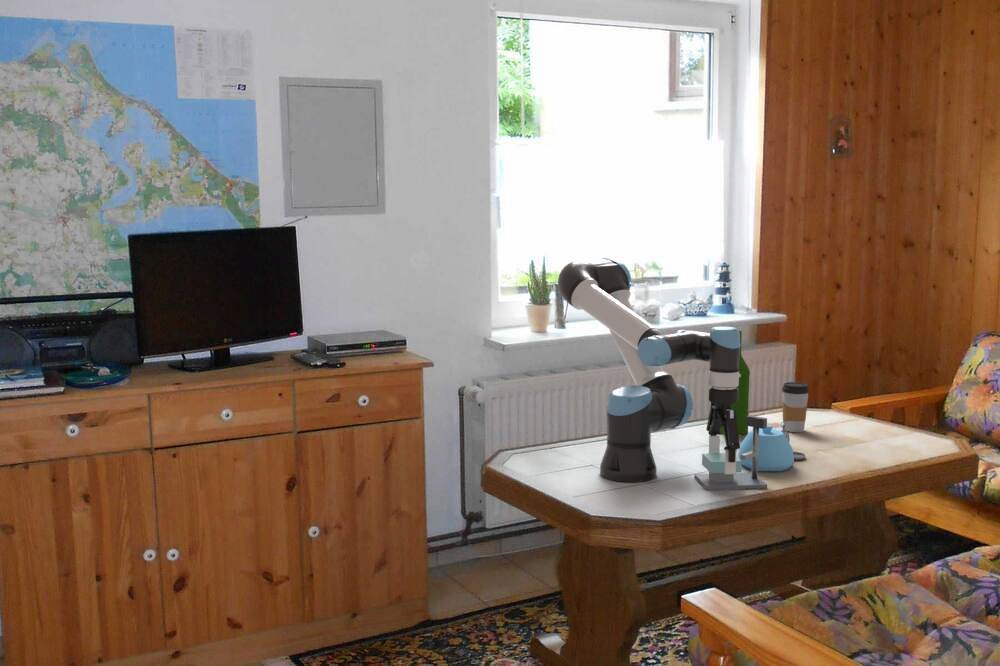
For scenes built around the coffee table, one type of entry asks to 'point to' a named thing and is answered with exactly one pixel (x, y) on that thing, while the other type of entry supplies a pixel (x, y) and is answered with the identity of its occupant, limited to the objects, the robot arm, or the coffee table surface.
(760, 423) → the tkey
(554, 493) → the coffee table surface
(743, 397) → the wine bottle
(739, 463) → the lid
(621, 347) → the robot arm
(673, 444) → the coffee table surface
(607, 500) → the coffee table surface
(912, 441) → the coffee table surface
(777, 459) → the sugar bowl
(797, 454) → the pocket watch
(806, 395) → the coffee cup
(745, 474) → the grey base plate
